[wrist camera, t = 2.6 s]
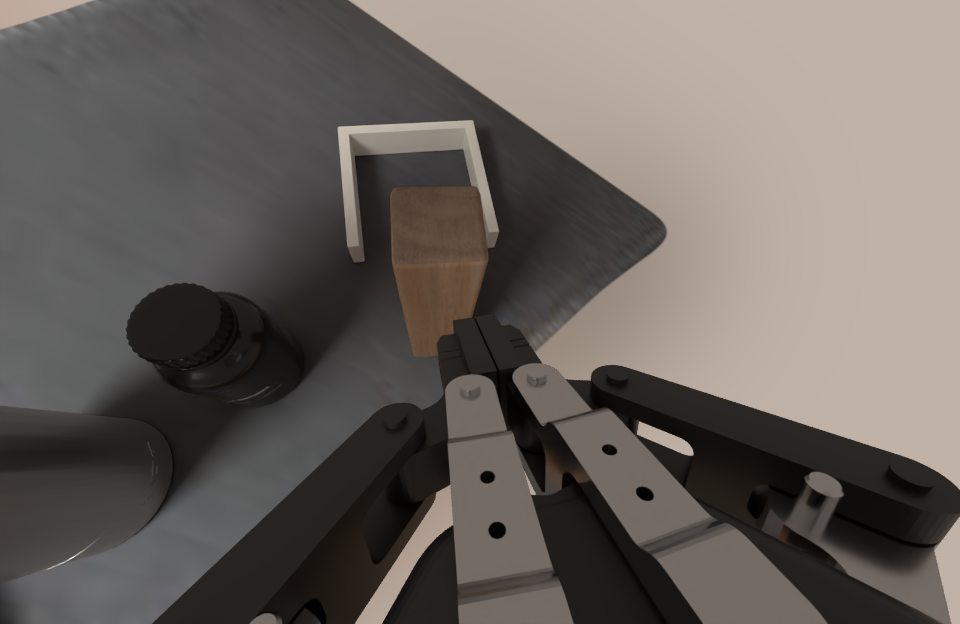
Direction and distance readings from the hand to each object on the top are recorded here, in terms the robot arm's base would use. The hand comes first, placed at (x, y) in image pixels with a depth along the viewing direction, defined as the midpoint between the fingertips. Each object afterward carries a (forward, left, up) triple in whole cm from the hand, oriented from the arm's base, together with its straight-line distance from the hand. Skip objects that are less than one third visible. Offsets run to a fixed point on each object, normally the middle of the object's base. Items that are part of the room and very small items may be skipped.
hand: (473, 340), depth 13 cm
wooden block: (0, +9, -20) cm, 22 cm away
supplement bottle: (-15, +6, -20) cm, 26 cm away
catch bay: (0, +22, -20) cm, 30 cm away
